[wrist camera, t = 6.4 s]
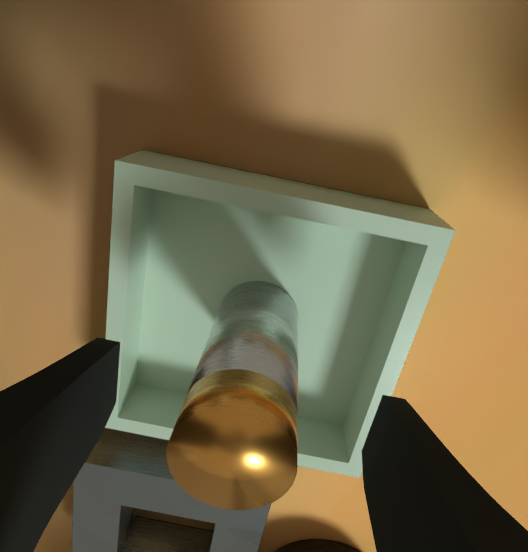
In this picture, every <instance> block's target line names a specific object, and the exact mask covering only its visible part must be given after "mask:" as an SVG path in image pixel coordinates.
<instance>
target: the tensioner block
mask: <svg viewBox="0 0 528 552" xmlns="http://www.w3.org/2000/svg"><path fill="white" fill-rule="evenodd" d="M168 442H169V440H165V439H160V438H155V437H150V436H145V435H140V434H135V433H130V432H125V431H120V430H115V429H110V428H104V431H103V433H102V435H101V437H100V438H99V440H98V442H97V443H96V445H95V447H94V448H93V450H92V452H91V453H90V455H89V457H88V458H87V460H86V462H85V463H84V465H83V466H82V468H81V470H80V471H79V473H78V475H77V476H76V478H75V479H74V481H73V529H72V552H258V548H259V545H260V541H261V538H262V534H263V530H264V527H265V523H266V520H267V516H268V513H269V509H270V506H271V504H268V505H266V506H263V507H259V508H255V509H250V510H228V509H222V508H217V507H214V506H211V505H208V504H206V503H203V502H201V501H199V500H197V499H195V498H194V497H192V496H191V495H189V494H188V493H187V492H186V491H184V490H183V489H182V488H181V487H180V486H179V485H178V483H177V482H176V481H175V479H174V478H173V476H172V474H171V472H170V470H169V467H168V464H167V458H166V451H167V445H168ZM135 508H138V509H143V510H148V511H153V512H159V513H164V514H169V515H174V516H179V517H184V518H189V519H195V520H200V521H205V522H210V523H214V527H213V532H212V531H207V530H202V529H197V528H191V527H186V526H181V525H176V524H171V523H166V522H161V521H155V520H150V519H145V518H140V517H135ZM276 552H360V551H358V550H356V549H355V548H353V547H350V546H348V545H345V544H343V543H339V542H335V541H329V540H305V541H299V542H295V543H292V544H289V545H286V546H284V547H282V548H280V549H279V550H277V551H276Z"/></svg>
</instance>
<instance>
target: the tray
mask: <svg viewBox="0 0 528 552" xmlns="http://www.w3.org/2000/svg"><path fill="white" fill-rule="evenodd" d="M454 233H455V230H454V229H453V228H452V227H451V226H450V225H448V224H447V223H446V222H445V221H444V220H443V219H441V218H440V217H439V216H438V215H437V214H435V213H434V212H433V211H432V210H431V209H427V208H422V207H417V206H412V205H408V204H403V203H398V202H393V201H388V200H383V199H379V198H374V197H369V196H364V195H359V194H354V193H350V192H345V191H340V190H335V189H330V188H325V187H321V186H316V185H311V184H306V183H301V182H296V181H292V180H287V179H282V178H277V177H272V176H267V175H263V174H258V173H253V172H248V171H243V170H238V169H234V168H229V167H224V166H219V165H214V164H209V163H205V162H200V161H195V160H190V159H185V158H180V157H176V156H171V155H166V154H161V153H156V152H151V151H147V150H141V151H138V152H136V153H133V154H130V155H128V156H125V157H122V158H119V159H117V160H115V167H114V186H113V205H112V224H111V243H110V263H109V282H108V301H107V320H106V339H107V340H112V341H117V342H120V354H119V369H118V383H117V398H116V404H115V406H114V409H113V411H112V413H111V415H110V418H109V420H108V422H107V424H106V426H105V428H110V429H115V430H120V431H125V432H130V433H135V434H140V435H145V436H150V437H155V438H160V439H165V440H169V439H170V437H171V434H172V432H173V429H174V426H175V424H176V421H177V418H178V416H179V413H180V410H181V408H182V405H183V403H184V400H185V397H186V395H187V392H188V389H189V387H190V384H191V382H192V379H193V376H194V374H195V371H196V368H197V366H198V363H199V361H200V358H201V355H202V353H203V350H204V347H205V345H206V342H207V339H208V337H209V334H210V332H211V329H212V326H213V324H214V321H215V318H216V316H217V313H218V311H219V308H220V305H221V303H222V301H223V299H224V297H225V296H226V294H227V293H228V292H229V291H230V290H232V289H233V288H234V287H236V286H238V285H240V284H242V283H245V282H250V281H265V282H269V283H272V284H275V285H277V286H279V287H280V288H282V289H283V290H285V291H286V292H287V293H288V294H289V295H290V296H291V298H292V299H293V300H294V302H295V304H296V307H297V310H298V449H297V466H302V467H307V468H312V469H317V470H323V471H328V472H333V473H338V474H343V475H348V476H353V477H358V478H360V476H361V474H362V471H363V467H362V449H363V446H364V443H365V441H366V438H367V435H368V433H369V430H370V427H371V425H372V422H373V419H374V417H375V414H376V411H377V409H378V406H379V403H380V401H381V398H382V395H387V396H392V393H393V391H394V388H395V386H396V383H397V380H398V378H399V375H400V373H401V370H402V367H403V365H404V362H405V360H406V357H407V354H408V352H409V349H410V347H411V344H412V342H413V339H414V336H415V334H416V331H417V329H418V326H419V323H420V321H421V318H422V316H423V313H424V310H425V308H426V305H427V303H428V300H429V298H430V295H431V292H432V290H433V287H434V285H435V282H436V279H437V277H438V274H439V272H440V269H441V266H442V264H443V261H444V259H445V256H446V253H447V251H448V248H449V246H450V243H451V241H452V238H453V235H454Z"/></svg>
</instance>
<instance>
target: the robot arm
mask: <svg viewBox="0 0 528 552" xmlns="http://www.w3.org/2000/svg"><path fill="white" fill-rule="evenodd" d="M119 354H120V342H117V341H112V340H107V339H102V338H97V339H95V340H93V341H91V342H89V343H88V344H86V345H84V346H82V347H81V348H79V349H77V350H76V351H74V352H72V353H71V354H69V355H67V356H66V357H64V358H62V359H60V360H59V361H57V362H55V363H53V364H51V365H50V366H48V367H46V368H44V369H43V370H41V371H39V372H37V373H36V374H34V375H32V376H30V377H28V378H26V379H24V380H22V381H20V382H18V383H16V384H14V385H12V386H10V387H8V388H6V389H4V390H2V391H0V552H33V551H34V549H35V547H36V545H37V543H38V541H39V539H40V537H41V535H42V533H43V531H44V529H45V528H46V526H47V524H48V522H49V521H50V519H51V517H52V515H53V513H54V512H55V510H56V509H57V507H58V505H59V504H60V502H61V500H62V499H63V497H64V496H65V494H66V492H67V491H68V489H69V487H70V486H71V484H72V483H73V481H74V479H75V478H76V476H77V475H78V473H79V471H80V470H81V468H82V466H83V465H84V463H85V462H86V460H87V458H88V457H89V455H90V453H91V452H92V450H93V448H94V447H95V445H96V443H97V442H98V440H99V438H100V437H101V435H102V433H103V431H104V428H105V426H106V424H107V422H108V420H109V418H110V415H111V413H112V411H113V409H114V406H115V404H116V398H117V383H118V369H119ZM362 467H363V480H364V490H365V495H366V500H367V505H368V511H369V516H370V521H371V526H372V530H373V535H374V540H375V545H376V550H377V552H528V531H527V530H526V529H525V528H524V527H523V526H522V525H521V524H519V523H518V522H517V521H516V520H515V519H514V518H513V517H512V516H511V515H510V514H509V513H508V512H507V511H505V510H504V509H503V508H502V507H501V506H500V505H499V504H498V503H497V502H496V501H495V500H494V499H493V498H492V497H491V496H490V495H489V494H488V493H487V492H486V491H485V490H484V489H483V488H482V486H481V485H480V484H479V483H478V482H477V481H476V480H475V479H474V478H473V477H472V476H471V475H470V474H469V473H468V472H467V471H466V469H465V468H464V467H463V466H462V465H461V464H460V463H459V462H458V461H457V459H456V458H455V457H454V456H453V455H452V454H451V453H450V451H449V450H448V449H447V448H446V447H445V446H444V444H443V443H442V442H441V441H440V440H439V439H438V437H437V436H436V435H435V434H434V433H433V431H432V430H431V429H430V428H429V427H428V425H427V424H426V423H425V422H424V421H423V419H422V418H421V417H420V416H419V415H418V413H417V412H416V411H415V410H414V409H413V408H412V406H411V405H410V404H409V403H408V402H407V401H406V400H405V399H402V398H397V397H392V396H387V395H382V398H381V401H380V403H379V406H378V409H377V411H376V414H375V417H374V419H373V422H372V425H371V427H370V430H369V433H368V435H367V438H366V441H365V443H364V446H363V449H362Z"/></svg>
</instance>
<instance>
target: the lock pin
mask: <svg viewBox="0 0 528 552" xmlns="http://www.w3.org/2000/svg"><path fill="white" fill-rule="evenodd" d="M297 449H298V310H297V307H296V304H295V302H294V300H293V299H292V298H291V296H290V295H289V294H288V293H287V292H286V291H285V290H283V289H282V288H280V287H279V286H277V285H275V284H272V283H269V282H265V281H250V282H245V283H242V284H240V285H238V286H236V287H234V288H233V289H232V290H230V291H229V292H228V293H227V294H226V296H225V297H224V299H223V301H222V303H221V305H220V308H219V311H218V313H217V316H216V318H215V321H214V324H213V326H212V329H211V332H210V334H209V337H208V339H207V342H206V345H205V347H204V350H203V353H202V355H201V358H200V361H199V363H198V366H197V368H196V371H195V374H194V376H193V379H192V382H191V384H190V387H189V389H188V392H187V395H186V397H185V400H184V403H183V405H182V408H181V410H180V413H179V416H178V418H177V421H176V424H175V426H174V429H173V432H172V434H171V437H170V439H169V442H168V445H167V451H166V458H167V464H168V467H169V470H170V472H171V474H172V476H173V478H174V479H175V481H176V482H177V483H178V485H179V486H180V487H181V488H182V489H183V490H184V491H186V492H187V493H188V494H189V495H191V496H192V497H194V498H195V499H197V500H199V501H201V502H203V503H206V504H208V505H211V506H214V507H217V508H222V509H228V510H250V509H255V508H259V507H263V506H266V505H268V504H271V503H272V502H274V501H276V500H278V499H279V498H280V497H282V496H283V495H284V494H285V493H286V492H287V491H288V490H289V488H290V487H291V486H292V484H293V482H294V480H295V477H296V474H297Z"/></svg>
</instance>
